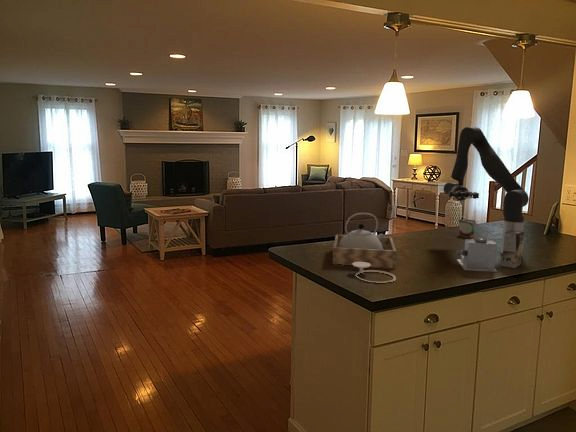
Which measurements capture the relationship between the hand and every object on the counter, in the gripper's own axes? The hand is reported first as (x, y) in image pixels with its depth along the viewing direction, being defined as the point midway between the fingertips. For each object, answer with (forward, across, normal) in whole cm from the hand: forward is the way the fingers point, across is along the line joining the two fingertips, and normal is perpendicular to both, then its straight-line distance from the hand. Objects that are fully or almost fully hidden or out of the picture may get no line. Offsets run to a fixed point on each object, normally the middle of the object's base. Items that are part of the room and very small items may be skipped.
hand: (466, 196), depth 235 cm
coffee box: (+16, +19, +30) cm, 39 cm away
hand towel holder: (+48, -47, +30) cm, 74 cm away
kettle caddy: (+18, -50, +30) cm, 61 cm away
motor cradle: (+21, +1, +30) cm, 37 cm away
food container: (-48, +14, +30) cm, 58 cm away
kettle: (+18, -51, +30) cm, 62 cm away
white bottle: (+17, +2, +29) cm, 34 cm away
